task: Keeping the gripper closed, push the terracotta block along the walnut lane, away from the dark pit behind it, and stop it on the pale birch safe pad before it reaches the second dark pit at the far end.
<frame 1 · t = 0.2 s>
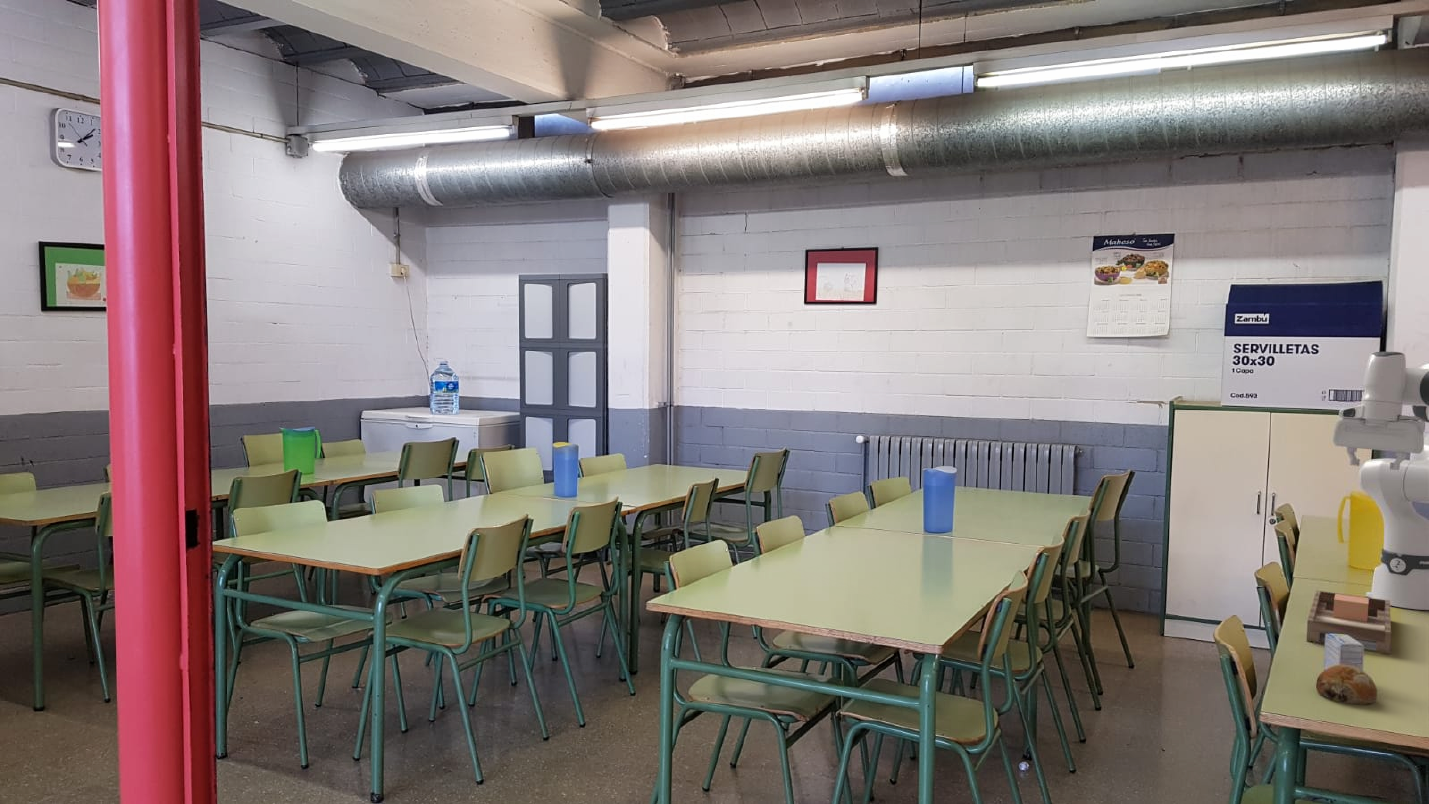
hand: (1374, 467, 253), 38 cm above the table, tool pointing down, fingers open, 8 cm apart
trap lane: (1349, 630, 241), on the table
bread roll: (1345, 698, 193), on the table
block: (1350, 616, 244), point 2 cm above the table, touching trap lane
medicine box: (1341, 681, 203), on the table
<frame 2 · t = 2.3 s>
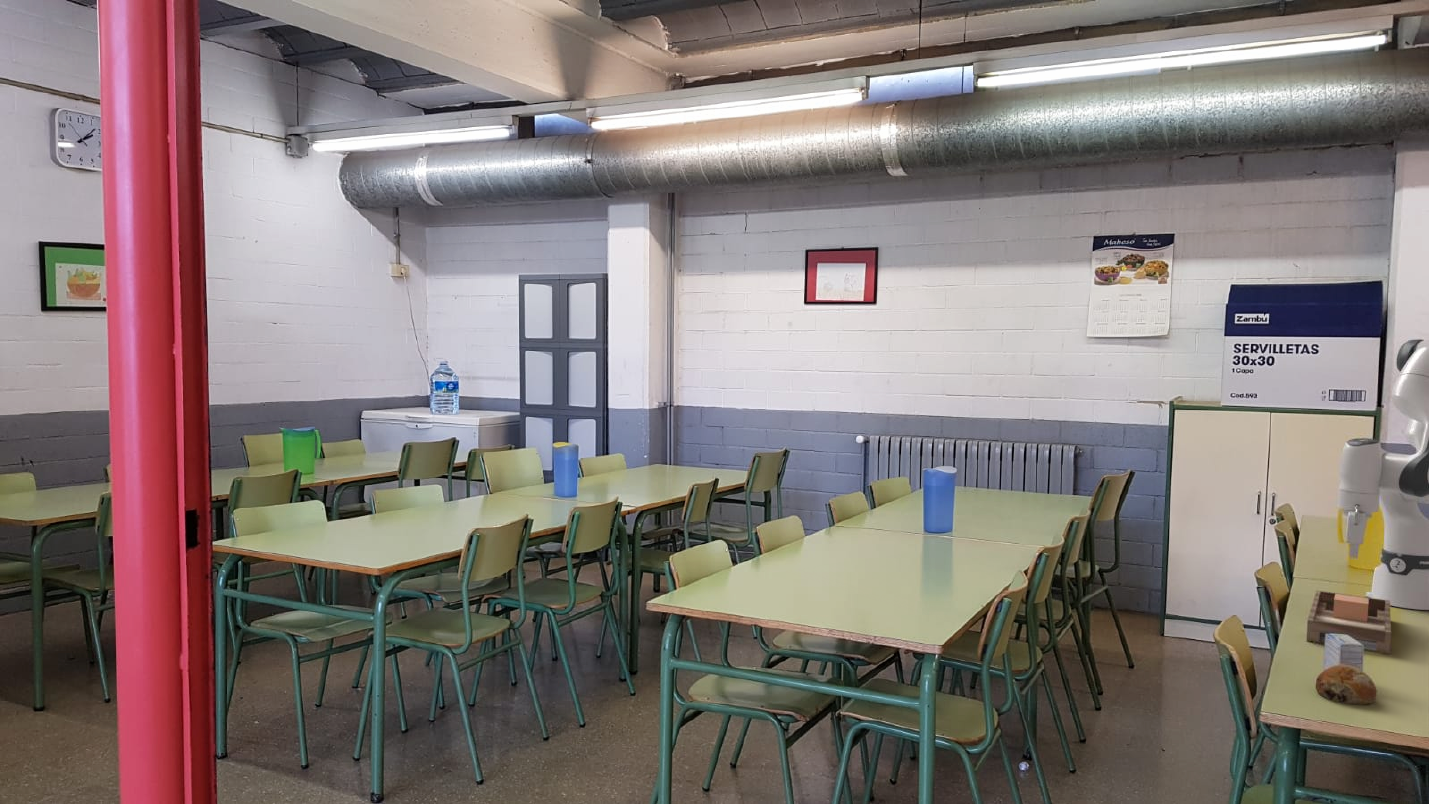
hand: (1353, 557, 250), 16 cm above the table, tool pointing down, fingers closed
nothing on the table moved.
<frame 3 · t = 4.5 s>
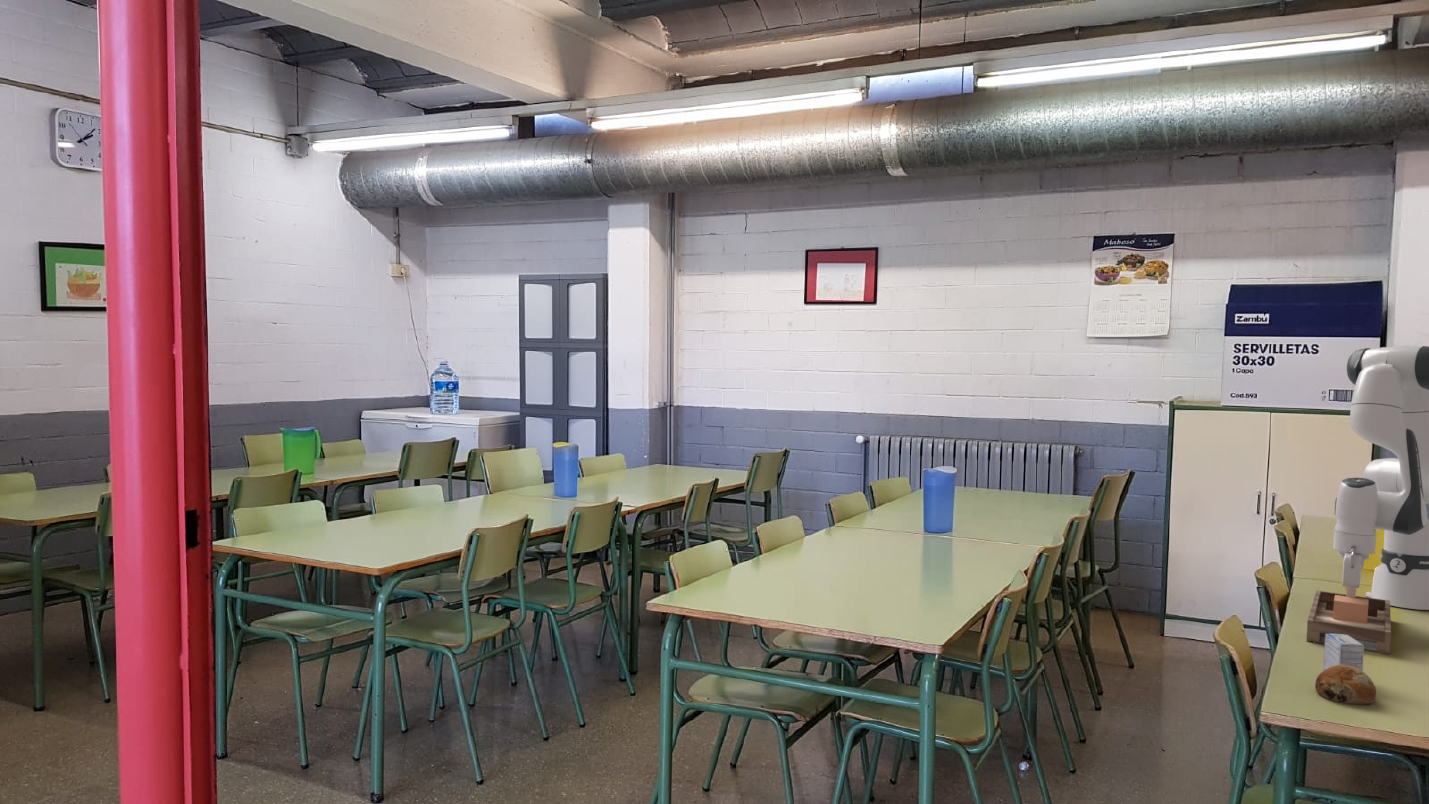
hand: (1350, 599, 247), 6 cm above the table, tool pointing down, fingers closed
block: (1350, 618, 243), point 3 cm above the table, touching gripper
everything else where it was.
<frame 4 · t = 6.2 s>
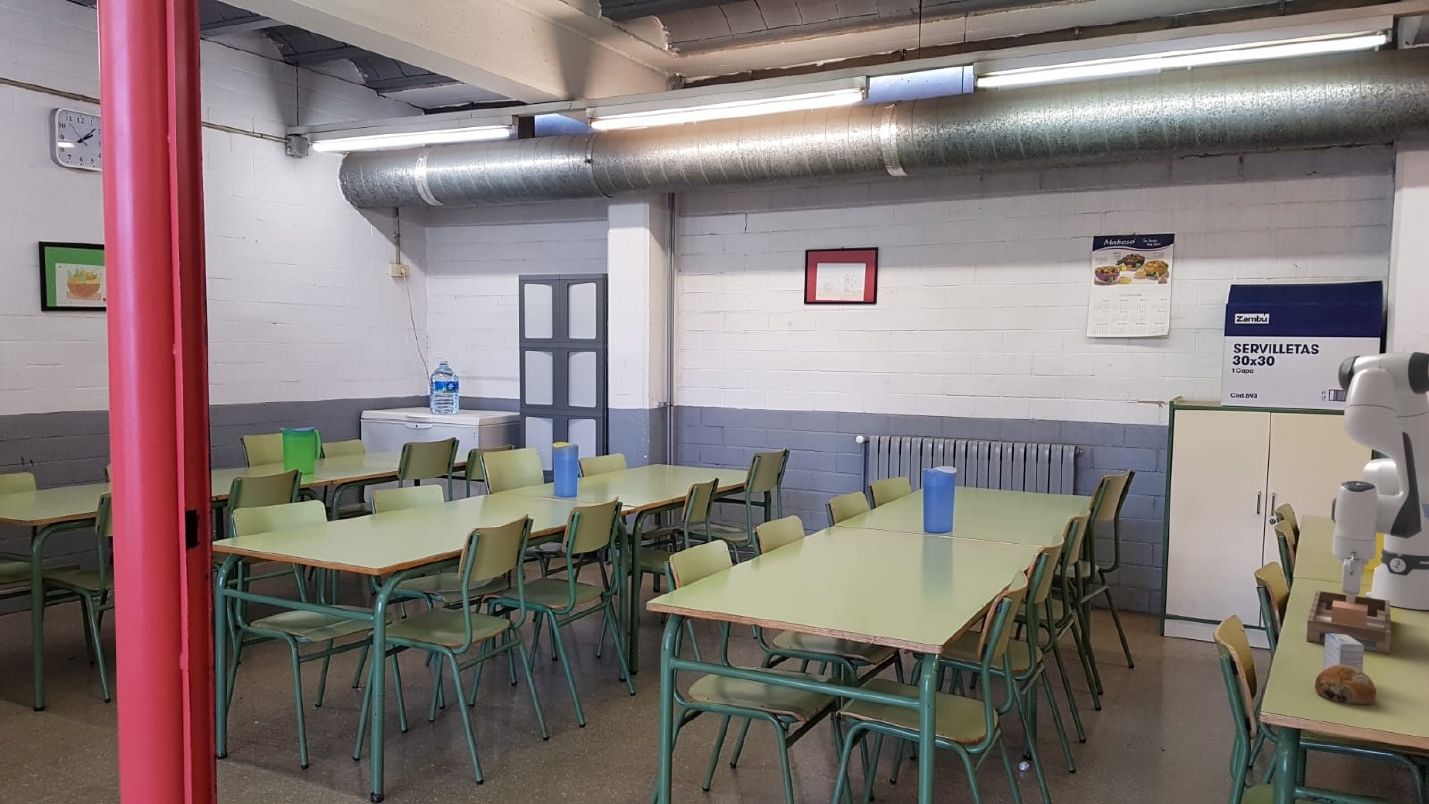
hand: (1350, 605, 241), 6 cm above the table, tool pointing down, fingers closed
block: (1348, 624, 237), point 2 cm above the table, touching gripper, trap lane
everything else where it was.
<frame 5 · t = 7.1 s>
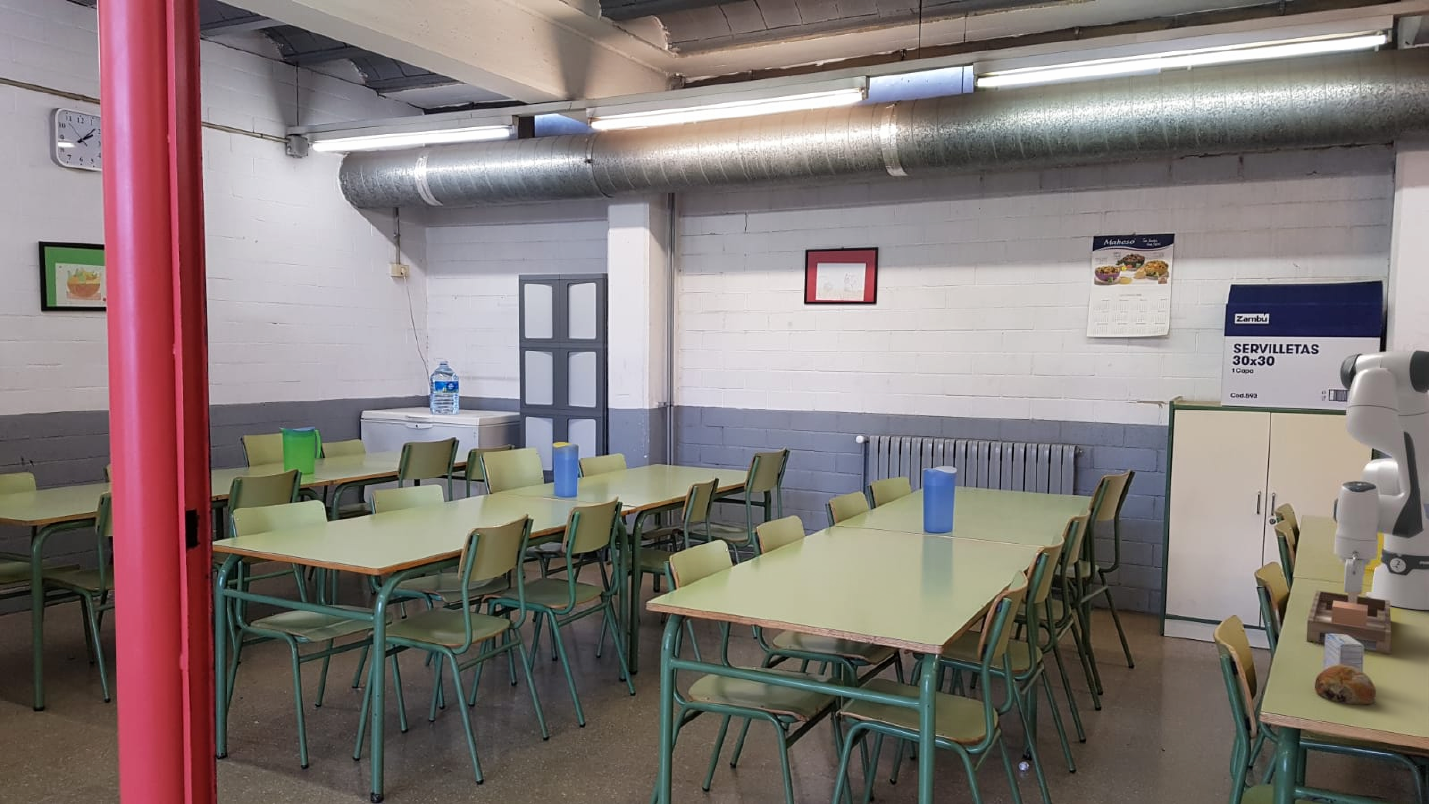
hand: (1352, 605, 242), 6 cm above the table, tool pointing down, fingers closed
block: (1348, 624, 237), point 2 cm above the table, touching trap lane
everything else where it was.
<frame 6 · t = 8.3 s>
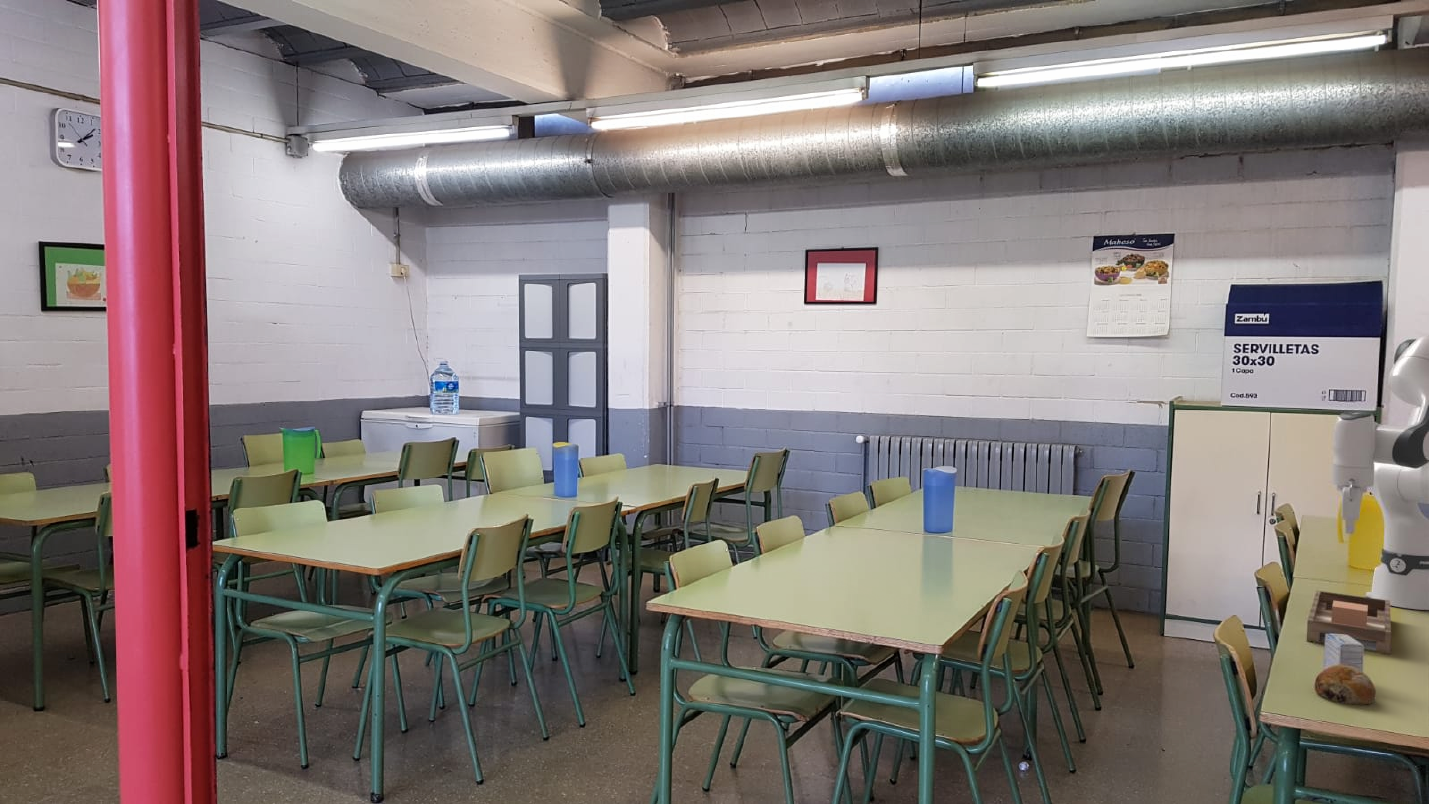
hand: (1349, 533, 245), 23 cm above the table, tool pointing down, fingers closed
nothing on the table moved.
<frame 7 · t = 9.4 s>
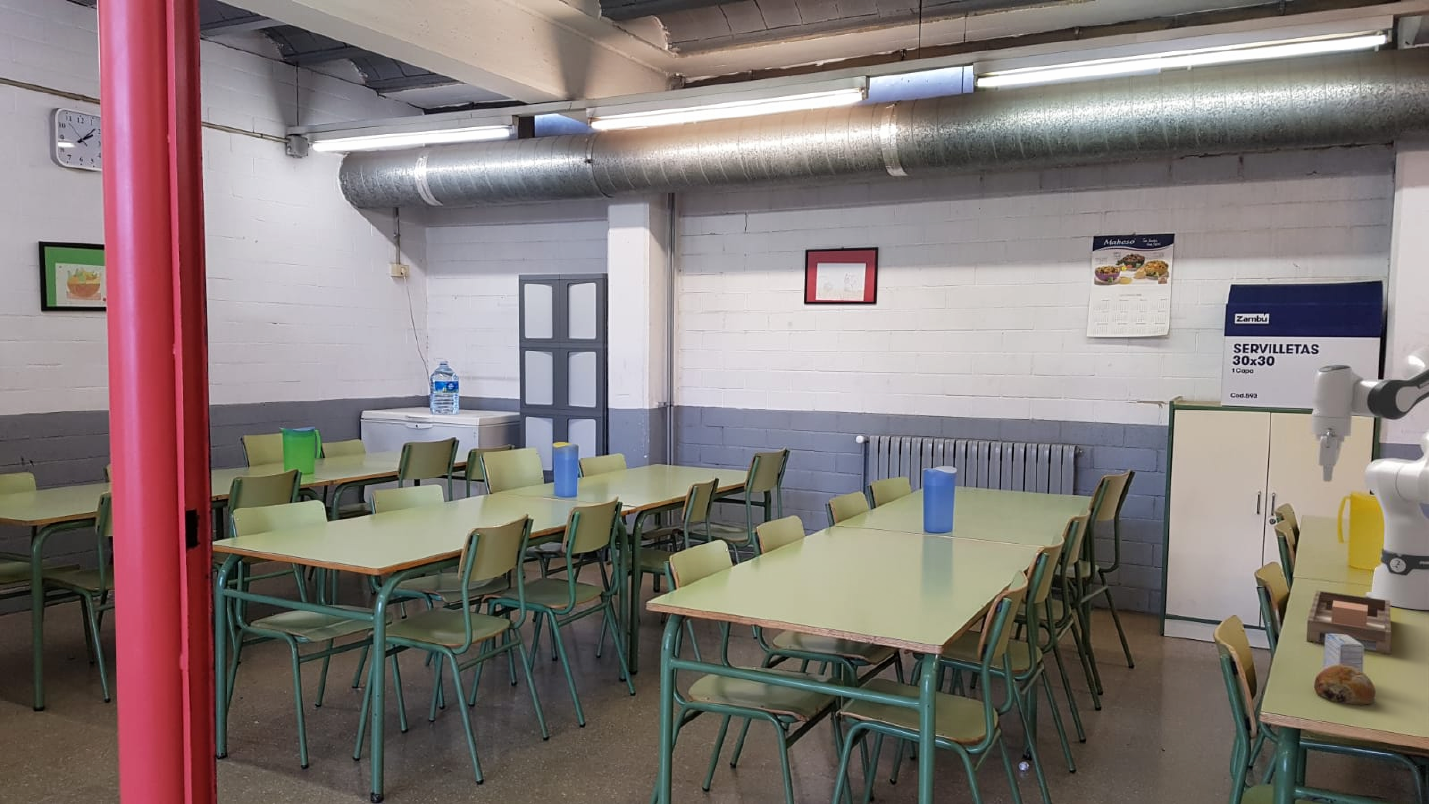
hand: (1327, 481, 257), 34 cm above the table, tool pointing down, fingers closed
nothing on the table moved.
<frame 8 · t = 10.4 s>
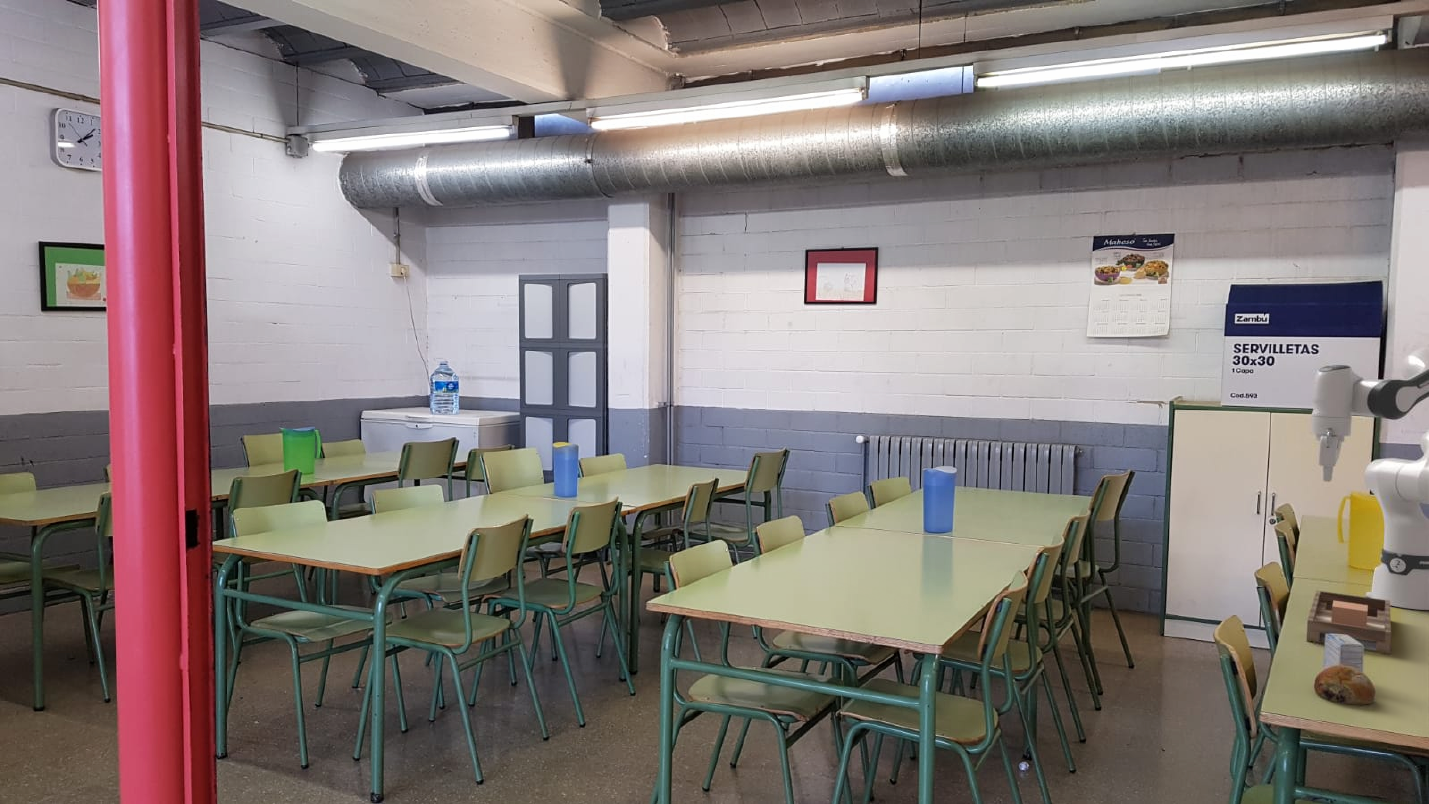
hand: (1327, 481, 257), 34 cm above the table, tool pointing down, fingers closed
nothing on the table moved.
at the end: block 0.3 cm from the target spot, point 2.5 cm above the table; block tilted 0°; block moved 8.6 cm from its start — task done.
